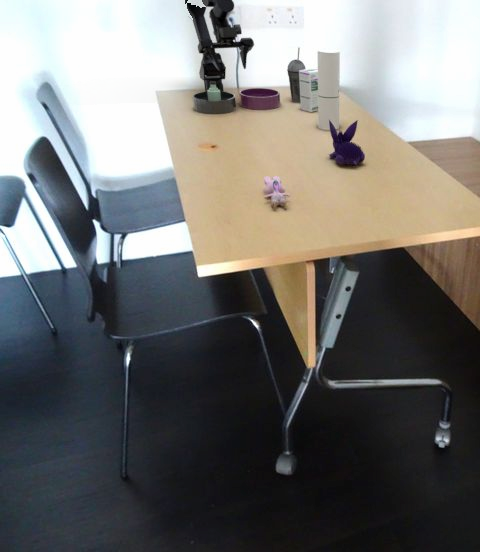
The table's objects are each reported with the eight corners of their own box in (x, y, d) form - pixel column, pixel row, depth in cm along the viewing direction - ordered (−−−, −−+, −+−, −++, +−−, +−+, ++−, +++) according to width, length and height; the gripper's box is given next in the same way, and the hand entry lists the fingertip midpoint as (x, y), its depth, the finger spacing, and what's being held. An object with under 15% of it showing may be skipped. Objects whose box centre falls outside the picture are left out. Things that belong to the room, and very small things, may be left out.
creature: (347, 149, 177) (347, 110, 170) (370, 169, 163) (372, 127, 157) (320, 152, 173) (319, 112, 167) (342, 172, 159) (342, 129, 153)
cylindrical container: (340, 125, 199) (341, 49, 186) (337, 131, 193) (337, 53, 180) (320, 123, 199) (320, 48, 187) (316, 129, 193) (315, 51, 181)
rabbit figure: (293, 213, 137) (282, 181, 148) (293, 192, 133) (282, 161, 144) (267, 215, 135) (258, 183, 146) (266, 194, 131) (257, 162, 142)
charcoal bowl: (185, 111, 202) (183, 96, 200) (213, 103, 214) (211, 89, 211) (218, 118, 198) (217, 103, 195) (244, 109, 209) (243, 95, 207)
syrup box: (311, 112, 211) (310, 72, 204) (299, 109, 214) (298, 69, 207) (321, 110, 215) (321, 70, 208) (310, 106, 218) (309, 67, 211)
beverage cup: (286, 99, 226) (283, 45, 216) (303, 98, 229) (302, 45, 218) (291, 103, 220) (289, 49, 210) (309, 102, 223) (308, 49, 213)
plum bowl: (232, 107, 211) (231, 93, 208) (256, 99, 222) (255, 86, 220) (265, 113, 206) (264, 99, 203) (287, 105, 218) (287, 91, 215)
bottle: (206, 109, 205) (203, 81, 200) (214, 106, 208) (211, 79, 203) (216, 111, 203) (213, 83, 198) (224, 108, 207) (221, 81, 202)
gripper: (198, 15, 188) (210, 62, 189) (252, 14, 197) (263, 59, 198) (192, 30, 198) (204, 74, 199) (244, 28, 207) (255, 71, 208)
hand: (232, 69), depth 201 cm, fingers open, 9 cm apart
